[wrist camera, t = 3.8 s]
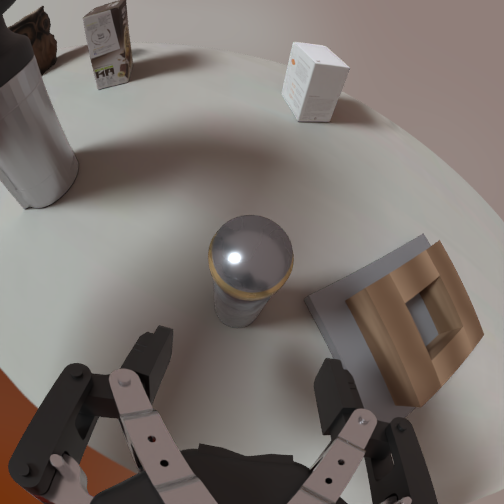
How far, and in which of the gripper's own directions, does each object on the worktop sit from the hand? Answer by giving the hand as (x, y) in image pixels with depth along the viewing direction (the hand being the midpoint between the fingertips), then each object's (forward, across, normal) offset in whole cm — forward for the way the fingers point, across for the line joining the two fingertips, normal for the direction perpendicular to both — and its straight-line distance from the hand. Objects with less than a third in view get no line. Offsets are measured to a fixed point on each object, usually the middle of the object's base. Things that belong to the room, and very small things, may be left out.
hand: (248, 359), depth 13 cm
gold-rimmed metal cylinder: (+11, -1, -3) cm, 11 cm away
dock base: (+11, +17, -3) cm, 21 cm away
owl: (+43, -68, +29) cm, 85 cm away
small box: (+33, +3, +20) cm, 39 cm away
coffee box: (+36, -33, +22) cm, 54 cm away
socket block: (+10, +17, -2) cm, 20 cm away
